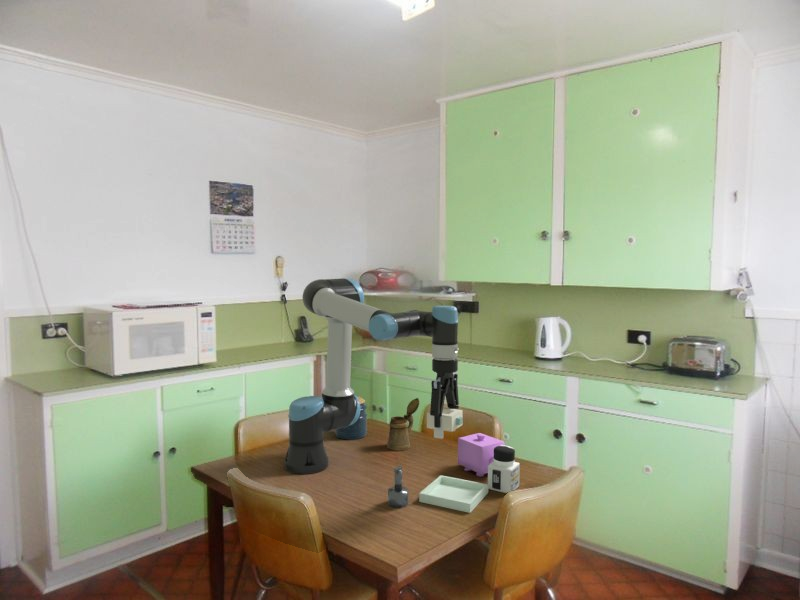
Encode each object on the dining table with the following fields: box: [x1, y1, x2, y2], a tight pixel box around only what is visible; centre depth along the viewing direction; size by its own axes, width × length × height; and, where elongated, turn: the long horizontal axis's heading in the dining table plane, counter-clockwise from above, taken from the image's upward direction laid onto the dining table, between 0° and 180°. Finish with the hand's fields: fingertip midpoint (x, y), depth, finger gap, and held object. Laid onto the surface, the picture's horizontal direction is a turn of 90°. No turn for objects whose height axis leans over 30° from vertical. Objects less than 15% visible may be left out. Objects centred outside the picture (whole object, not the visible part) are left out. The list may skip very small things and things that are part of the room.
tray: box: [418, 474, 489, 514], centre depth 174 cm, size 16×16×3 cm
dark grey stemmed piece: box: [387, 465, 409, 509], centre depth 169 cm, size 6×6×11 cm
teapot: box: [457, 432, 505, 478], centre depth 195 cm, size 20×10×12 cm, turn 35°
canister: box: [334, 395, 368, 440], centre depth 234 cm, size 13×13×18 cm
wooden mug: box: [386, 397, 420, 452], centre depth 221 cm, size 9×14×18 cm, turn 122°
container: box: [487, 444, 521, 494], centre depth 181 cm, size 8×8×13 cm
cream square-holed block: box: [426, 407, 464, 432], centre depth 171 cm, size 9×8×4 cm
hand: (444, 433), depth 171 cm, fingers closed on cream square-holed block, 8 cm apart
